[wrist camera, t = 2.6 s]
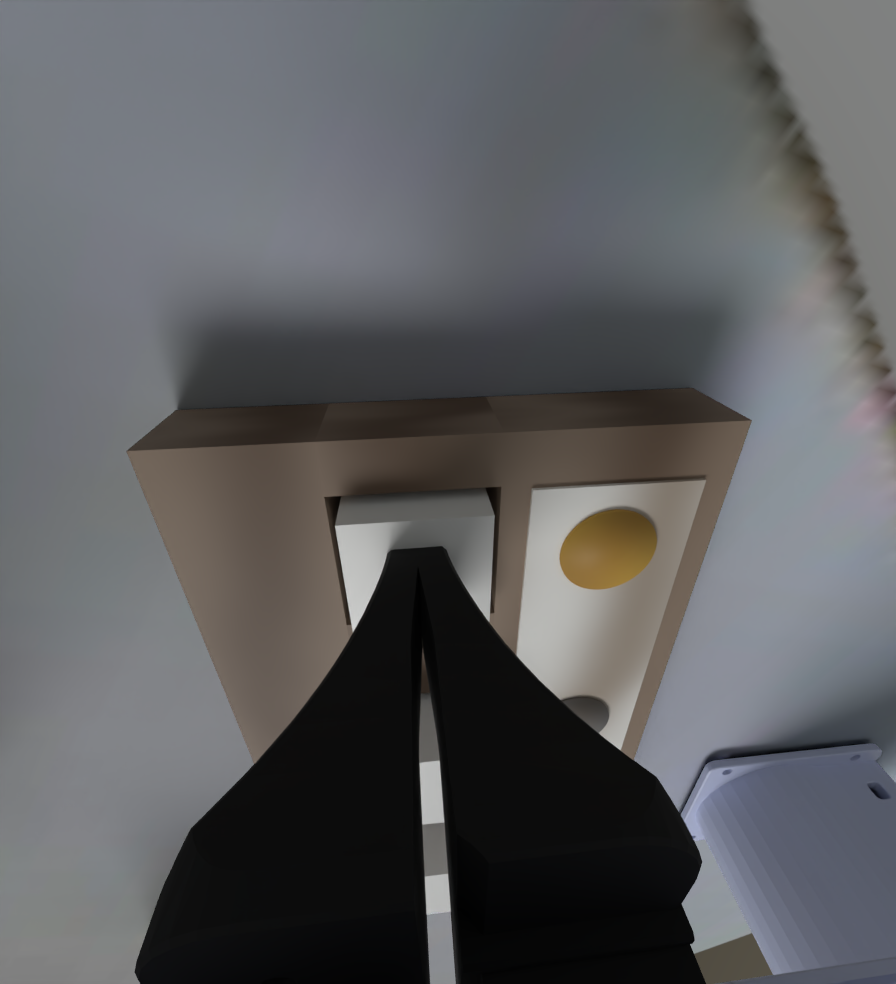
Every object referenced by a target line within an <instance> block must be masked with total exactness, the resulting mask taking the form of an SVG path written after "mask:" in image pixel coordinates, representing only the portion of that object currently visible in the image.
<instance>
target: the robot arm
mask: <svg viewBox="0 0 896 984" xmlns="http://www.w3.org/2000/svg"><path fill="white" fill-rule="evenodd" d="M422 652H423V653H424V659H425V665H426V672H427V678H428V684H429V690H430V697H431V703H432V709H433V715H434V721H435V728H436V734H437V742H438V750H439V759H440V772H441V785H442V799H443V812H444V826H445V839H446V853H447V866H448V880H449V894H450V908H451V921H452V935H453V949H454V963H455V977H456V984H706V983H705V980H704V978H703V975H702V973H701V970H700V968H699V965H698V963H697V960H696V958H695V956H694V953H693V951H692V948H691V946H690V944H692V943H693V942H694V940H695V939H694V934H693V930H692V928H691V926H690V923H689V921H688V919H687V916H686V914H685V911H684V909H683V907H682V904H681V903H682V902H683V900H684V899H685V897H686V895H687V894H688V892H689V891H690V889H691V887H692V886H693V884H694V883H695V881H696V879H697V877H698V874H699V871H700V868H701V864H702V860H701V856H700V853H699V850H698V848H697V846H696V844H695V842H694V841H697V840H706V842H707V844H708V846H709V848H710V850H711V852H712V854H713V856H714V858H715V860H716V862H717V864H718V866H719V868H720V870H721V872H722V874H723V876H724V878H725V880H726V882H727V884H728V886H729V888H730V890H731V892H732V894H733V896H734V898H735V900H736V902H737V904H738V906H739V908H740V910H741V912H742V914H743V916H744V918H745V920H746V922H747V924H748V926H749V927H750V929H751V931H752V933H753V935H754V937H755V939H756V941H757V943H758V945H759V947H760V949H761V951H762V953H763V955H764V957H765V959H766V961H767V963H768V965H769V967H770V969H771V971H772V973H773V975H770V976H763V977H757V978H750V979H744V980H737V981H730V982H723V983H717V984H896V783H895V782H894V781H893V779H892V778H891V777H890V776H889V775H888V774H887V773H886V772H885V771H884V769H883V768H882V767H881V766H880V765H879V764H878V763H877V762H876V760H877V759H878V758H879V757H880V756H881V754H882V750H881V749H880V748H879V747H878V746H877V745H876V744H874V743H868V744H859V745H849V746H840V747H831V748H822V749H813V750H804V751H795V752H786V753H777V754H767V755H758V756H749V757H740V758H731V759H722V760H714V761H711V762H709V763H707V764H706V765H705V767H704V769H703V771H702V773H701V775H700V777H699V779H698V781H697V783H696V785H695V787H694V789H693V791H692V793H691V795H690V797H689V799H688V801H687V803H686V805H685V807H684V809H683V811H682V813H681V815H680V814H679V812H678V810H677V809H676V807H675V805H674V804H673V802H672V800H671V799H670V797H669V796H668V794H667V792H666V791H665V789H664V788H663V786H662V785H661V783H660V782H659V780H658V778H657V777H656V776H654V775H653V774H652V773H650V772H649V771H647V770H646V769H645V768H643V767H642V766H641V765H639V764H638V763H637V762H635V761H634V760H632V759H631V758H630V757H628V756H627V755H626V754H624V753H623V752H622V751H621V750H619V749H618V748H617V747H615V746H614V745H613V744H612V743H610V742H609V741H608V740H606V739H605V738H604V737H603V736H601V735H600V734H599V733H598V732H597V731H595V730H594V729H593V728H592V727H591V726H589V725H588V724H587V723H586V722H585V721H583V720H582V719H581V718H580V717H579V716H577V715H576V714H575V713H574V712H573V711H572V710H571V709H570V708H569V707H568V706H567V705H566V704H564V703H563V702H562V701H561V700H560V699H559V698H558V697H557V696H556V695H555V694H554V693H553V692H551V691H550V690H549V689H548V688H547V687H546V686H545V685H544V684H543V683H542V682H541V681H540V680H539V679H538V678H537V677H536V676H535V675H534V674H533V673H532V672H531V671H530V670H529V669H528V668H527V667H526V666H525V665H524V664H523V662H522V661H521V660H520V659H519V658H518V657H517V656H516V655H515V653H514V652H513V651H512V650H511V649H510V648H509V647H508V645H507V644H506V643H505V642H504V641H503V639H502V638H501V637H500V636H499V634H498V633H497V632H496V631H495V629H494V628H493V627H492V625H491V624H490V623H489V621H488V620H487V619H486V617H485V616H484V615H483V613H482V612H481V610H480V609H479V607H478V606H477V604H476V603H475V601H474V600H473V598H472V597H471V595H470V594H469V592H468V591H467V589H466V587H465V586H464V584H463V582H462V581H461V579H460V577H459V575H458V574H457V572H456V570H455V568H454V566H453V564H452V562H451V560H450V557H449V555H448V552H447V550H446V549H445V548H444V547H443V546H437V547H423V548H408V549H394V550H391V551H389V552H388V553H387V556H386V561H385V564H384V567H383V570H382V573H381V576H380V578H379V581H378V583H377V585H376V588H375V590H374V592H373V594H372V597H371V599H370V601H369V603H368V605H367V607H366V609H365V611H364V613H363V615H362V617H361V619H360V621H359V623H358V624H357V626H356V628H355V630H354V632H353V633H352V635H351V637H350V639H349V641H348V642H347V644H346V646H345V647H344V649H343V651H342V652H341V654H340V655H339V657H338V658H337V660H336V662H335V663H334V665H333V666H332V668H331V669H330V671H329V672H328V673H327V675H326V676H325V678H324V679H323V681H322V682H321V684H320V685H319V686H318V688H317V689H316V690H315V692H314V693H313V694H312V696H311V697H310V698H309V700H308V701H307V702H306V704H305V705H304V706H303V708H302V709H301V710H300V711H299V713H298V714H297V715H296V717H295V718H294V719H293V720H292V721H291V723H290V724H289V725H288V726H287V727H286V729H285V730H284V731H283V732H282V733H281V734H280V735H279V737H278V738H277V739H276V740H275V741H274V742H273V743H272V745H271V746H270V747H269V748H268V749H267V750H266V751H265V753H264V754H263V755H262V756H261V757H260V758H259V760H258V761H257V762H256V763H255V764H254V765H253V766H252V767H251V768H250V769H249V770H248V772H247V773H246V774H245V775H244V776H243V777H242V778H241V779H240V780H239V781H238V782H237V783H236V784H235V785H234V786H233V787H232V788H231V789H230V790H229V791H228V792H227V793H226V794H225V795H224V796H223V797H222V798H221V799H220V800H219V801H218V802H217V803H216V804H215V805H214V806H213V807H212V808H211V809H210V810H209V811H208V812H207V813H206V814H205V815H204V816H203V817H202V818H201V819H200V820H199V821H198V822H197V823H196V824H195V825H194V826H193V827H192V828H191V830H190V832H189V833H188V835H187V837H186V839H185V841H184V843H183V845H182V847H181V850H180V852H179V854H178V856H177V858H176V860H175V862H174V864H173V867H172V869H171V871H170V873H169V875H168V877H167V880H166V882H165V884H164V886H163V889H162V891H161V894H160V896H159V899H158V902H157V905H156V907H155V910H154V913H153V916H152V919H151V922H150V925H149V927H148V930H147V933H146V936H145V939H144V942H143V945H142V948H141V950H140V953H139V956H138V959H137V963H136V968H135V974H136V976H137V978H138V980H139V982H140V983H141V984H430V975H429V954H428V934H427V913H426V892H425V871H424V850H423V829H422V807H421V785H420V763H419V732H420V705H421V679H422Z"/></svg>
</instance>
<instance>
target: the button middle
mask: <svg viewBox="0 0 896 984" xmlns="http://www.w3.org/2000/svg"><path fill="white" fill-rule="evenodd" d="M419 763H420V785H421V807H422V825H424V824H433V823H442V822H444V812H443V799H442V785H441V772H440V759H439V750H438V742H437V734H436V728H435V721H434V715H433V709H432V703H431V697H430V693H423V694H421V705H420V732H419Z"/></svg>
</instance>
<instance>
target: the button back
mask: <svg viewBox="0 0 896 984" xmlns="http://www.w3.org/2000/svg"><path fill="white" fill-rule="evenodd" d="M422 829H423V850H424V871H425V892H426V913H427V915H429V914H436V913H444V912H451V908H450V894H449V880H448V866H447V853H446V839H445V826H444V822H442V823H433V824H424V825H422Z"/></svg>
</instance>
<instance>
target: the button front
mask: <svg viewBox="0 0 896 984" xmlns="http://www.w3.org/2000/svg"><path fill="white" fill-rule="evenodd" d="M494 519H495V515H494V512H493V509H492V506H491V503H490V500H489V497H488V494H487V491H486V488H469V489H452V490H435V491H418V492H400V493H383V494H366V495H349V496H341V499H340V504H339V509H338V514H337V518H336V523H335V529H336V535H337V541H338V547H339V553H340V559H341V565H342V571H343V577H344V583H345V589H346V595H347V601H348V607H349V613H350V619H351V625H352V631H353V632H354V630H355V628H356V626H357V624H358V623H359V621H360V619H361V617H362V615H363V613H364V611H365V609H366V607H367V605H368V603H369V601H370V599H371V597H372V594H373V592H374V590H375V588H376V585H377V583H378V581H379V578H380V576H381V573H382V570H383V567H384V564H385V561H386V556H387V553H388V552H389V551H391V550H394V549H408V548H423V547H437V546H443V547H444V548H445V549H446V550H447V552H448V555H449V557H450V560H451V562H452V564H453V566H454V568H455V570H456V572H457V574H458V575H459V577H460V579H461V581H462V582H463V584H464V586H465V587H466V589H467V591H468V592H469V594H470V595H471V597H472V598H473V600H474V601H475V603H476V604H477V606H478V607H479V609H480V610H481V612H482V613H483V615H484V616H485V617H486V619H487V620H488V621H490V601H491V580H492V560H493V539H494Z"/></svg>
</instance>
